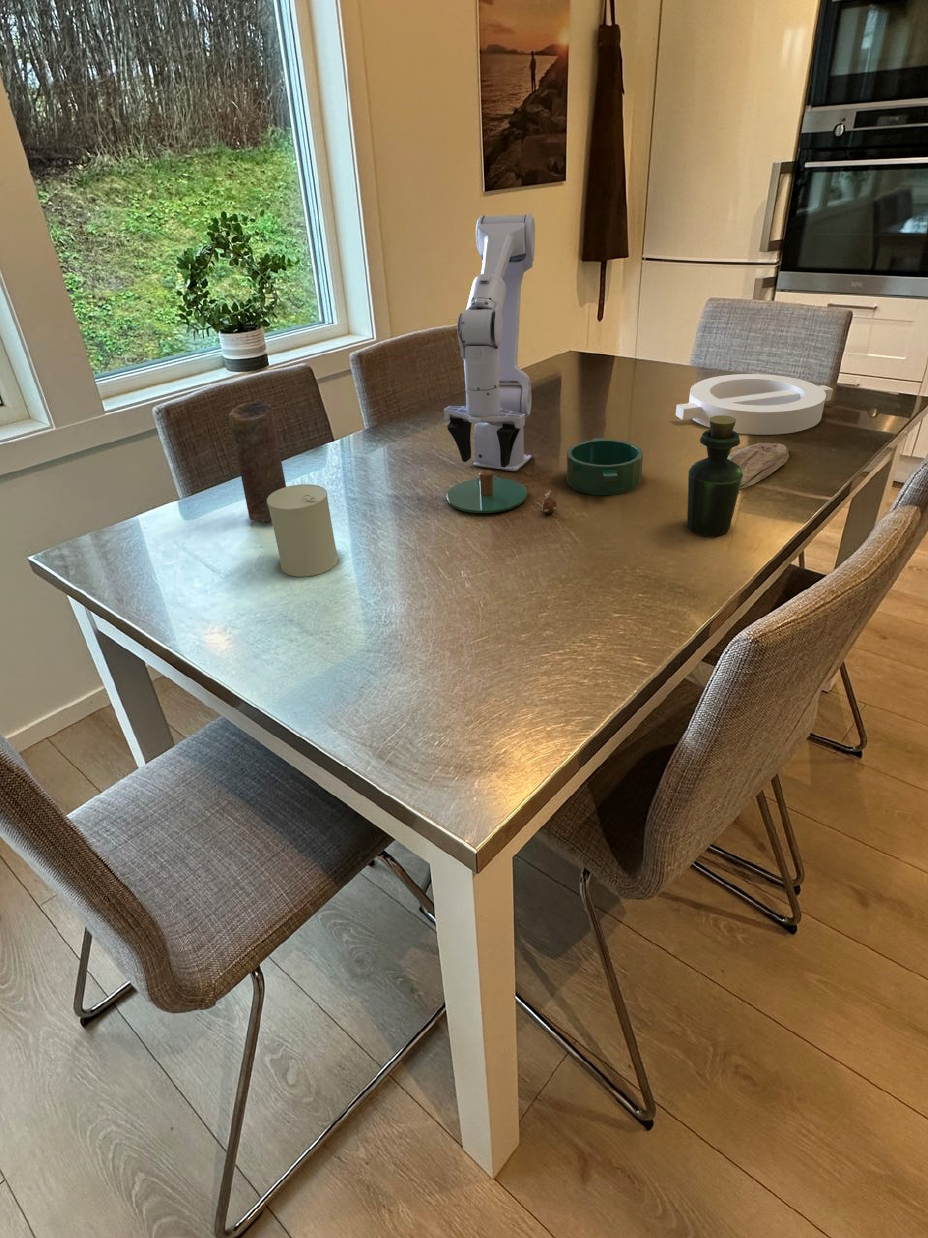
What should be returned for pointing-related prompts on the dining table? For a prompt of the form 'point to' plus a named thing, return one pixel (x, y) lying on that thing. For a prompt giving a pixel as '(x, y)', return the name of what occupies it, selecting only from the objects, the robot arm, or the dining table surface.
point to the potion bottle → (714, 481)
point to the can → (303, 529)
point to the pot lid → (486, 494)
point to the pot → (604, 466)
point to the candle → (257, 456)
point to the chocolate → (548, 505)
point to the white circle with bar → (757, 403)
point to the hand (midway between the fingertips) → (485, 462)
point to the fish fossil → (759, 461)
